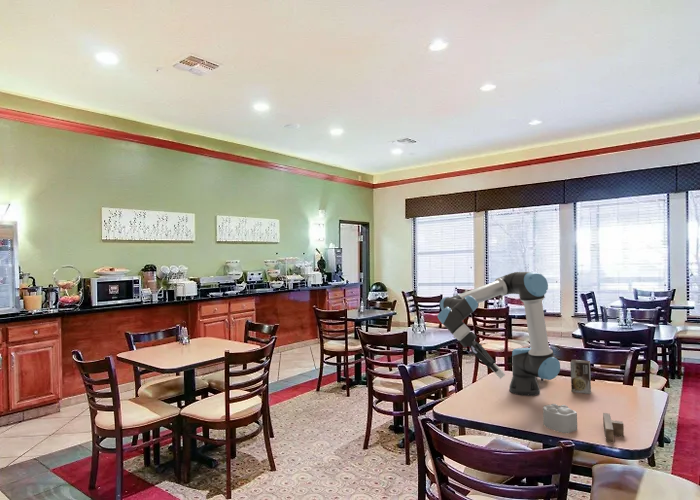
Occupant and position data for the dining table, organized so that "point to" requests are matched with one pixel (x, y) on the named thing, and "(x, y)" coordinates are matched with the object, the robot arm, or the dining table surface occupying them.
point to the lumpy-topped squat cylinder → (560, 418)
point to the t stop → (612, 427)
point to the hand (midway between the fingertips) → (502, 376)
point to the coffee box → (580, 376)
